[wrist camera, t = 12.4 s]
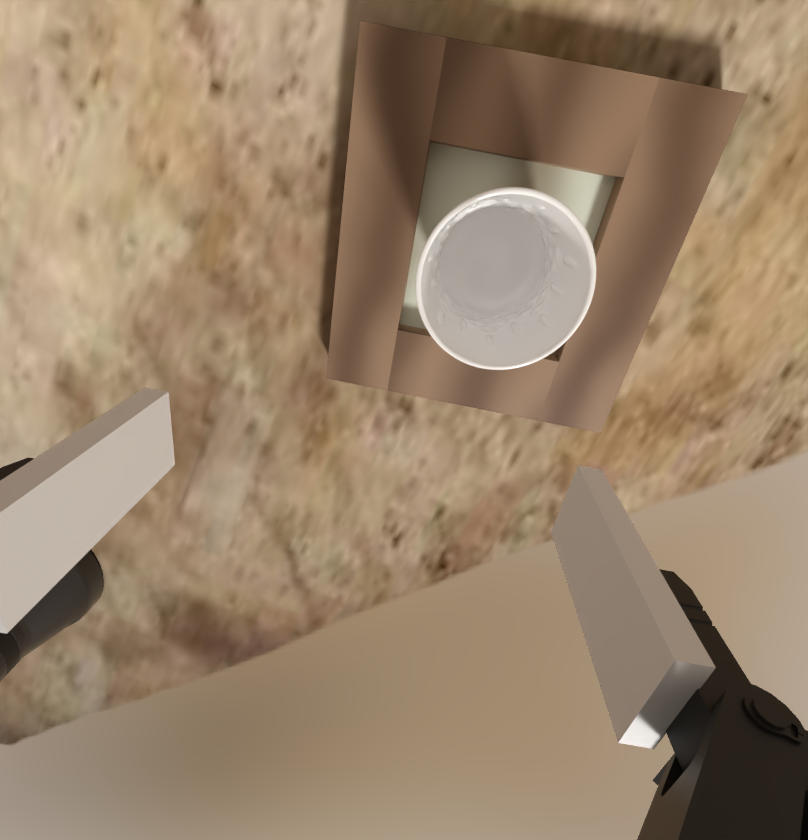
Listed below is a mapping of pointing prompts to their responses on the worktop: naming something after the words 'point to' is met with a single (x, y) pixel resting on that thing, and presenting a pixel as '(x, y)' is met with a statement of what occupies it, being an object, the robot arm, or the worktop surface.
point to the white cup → (505, 278)
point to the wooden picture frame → (512, 167)
